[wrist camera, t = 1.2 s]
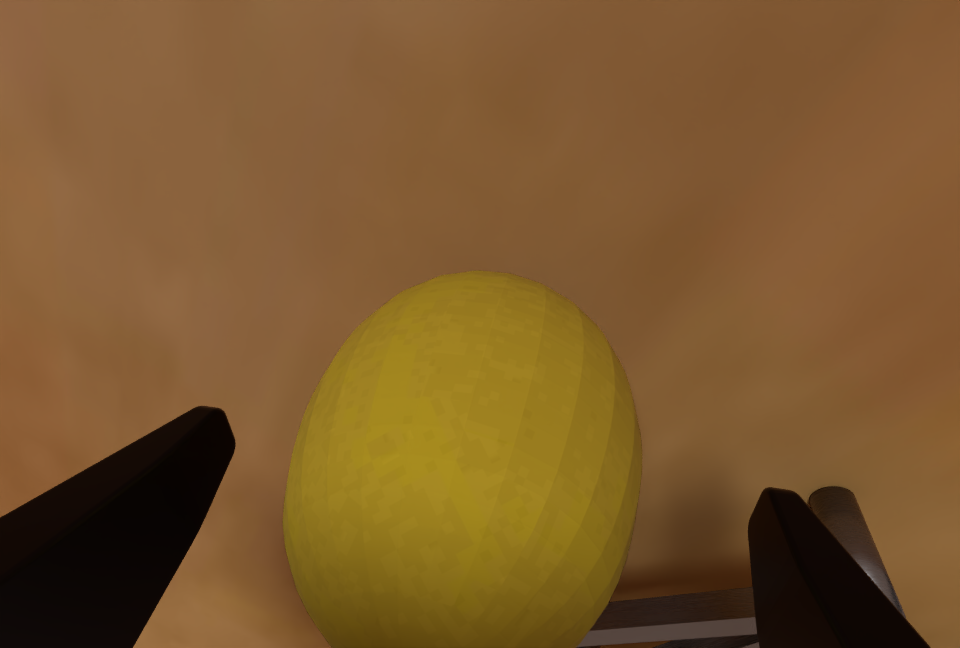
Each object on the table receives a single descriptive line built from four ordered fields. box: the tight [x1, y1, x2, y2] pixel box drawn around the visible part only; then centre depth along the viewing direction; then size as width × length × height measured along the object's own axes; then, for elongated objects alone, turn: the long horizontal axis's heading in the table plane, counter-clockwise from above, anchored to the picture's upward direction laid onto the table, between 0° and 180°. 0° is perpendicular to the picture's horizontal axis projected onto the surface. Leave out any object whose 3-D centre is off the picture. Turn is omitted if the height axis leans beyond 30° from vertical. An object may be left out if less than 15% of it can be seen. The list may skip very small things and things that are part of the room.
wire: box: [576, 487, 906, 648], centre depth 17 cm, size 8×15×3 cm, turn 170°
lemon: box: [283, 270, 642, 648], centre depth 9 cm, size 6×6×8 cm
